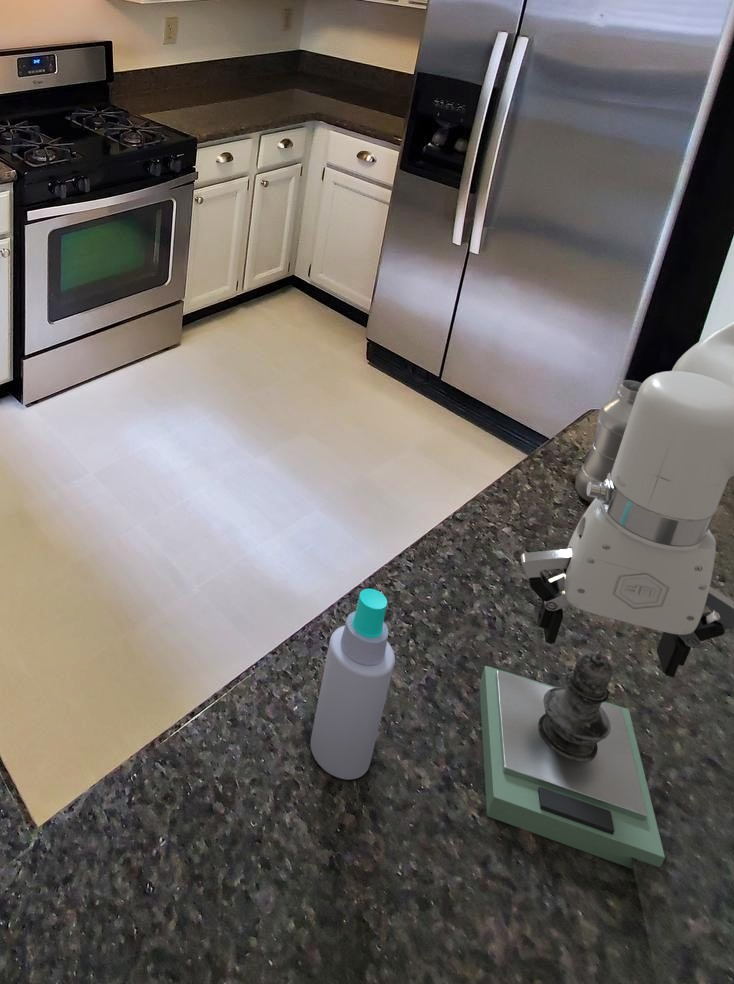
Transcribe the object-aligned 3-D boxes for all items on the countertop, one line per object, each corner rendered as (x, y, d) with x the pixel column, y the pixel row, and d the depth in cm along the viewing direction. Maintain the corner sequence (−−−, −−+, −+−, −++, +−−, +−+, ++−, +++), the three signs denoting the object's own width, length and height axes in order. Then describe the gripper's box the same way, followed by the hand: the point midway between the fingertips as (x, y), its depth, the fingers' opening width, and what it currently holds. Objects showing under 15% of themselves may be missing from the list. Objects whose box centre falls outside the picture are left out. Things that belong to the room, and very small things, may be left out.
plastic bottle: (581, 479, 125) (617, 369, 116) (629, 501, 120) (671, 389, 112) (564, 496, 121) (601, 384, 113) (613, 520, 116) (656, 405, 108)
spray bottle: (297, 741, 85) (326, 587, 76) (339, 718, 87) (372, 566, 78) (338, 792, 80) (374, 634, 71) (382, 765, 82) (422, 609, 73)
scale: (620, 727, 86) (630, 705, 85) (655, 877, 73) (667, 853, 71) (479, 683, 91) (486, 661, 90) (486, 816, 78) (495, 792, 76)
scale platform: (619, 713, 85) (622, 708, 84) (644, 821, 75) (647, 816, 74) (495, 675, 89) (496, 670, 89) (502, 772, 79) (504, 767, 78)
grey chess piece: (536, 700, 85) (565, 619, 80) (600, 727, 82) (635, 644, 77) (533, 745, 80) (564, 661, 76) (601, 775, 78) (637, 690, 73)
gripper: (548, 510, 69) (506, 650, 76) (795, 565, 63) (726, 712, 70) (538, 459, 75) (501, 593, 82) (763, 505, 69) (702, 645, 76)
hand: (604, 648), depth 76 cm, fingers open, 9 cm apart
